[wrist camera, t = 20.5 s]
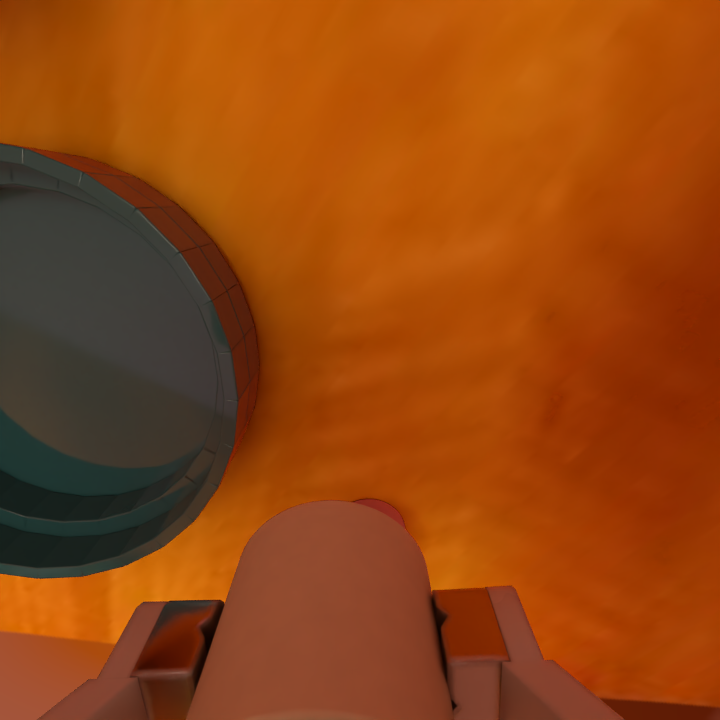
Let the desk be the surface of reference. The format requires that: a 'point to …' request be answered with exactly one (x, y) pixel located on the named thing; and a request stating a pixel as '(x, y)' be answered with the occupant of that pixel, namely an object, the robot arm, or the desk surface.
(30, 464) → the bowl
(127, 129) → the desk surface
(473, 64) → the desk surface
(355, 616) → the cream marshmallow
